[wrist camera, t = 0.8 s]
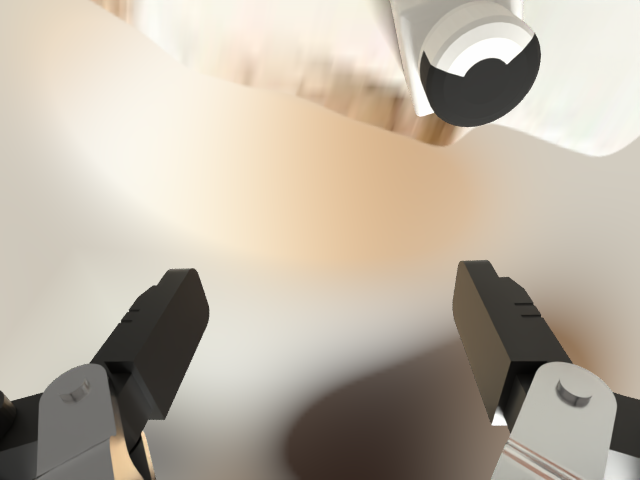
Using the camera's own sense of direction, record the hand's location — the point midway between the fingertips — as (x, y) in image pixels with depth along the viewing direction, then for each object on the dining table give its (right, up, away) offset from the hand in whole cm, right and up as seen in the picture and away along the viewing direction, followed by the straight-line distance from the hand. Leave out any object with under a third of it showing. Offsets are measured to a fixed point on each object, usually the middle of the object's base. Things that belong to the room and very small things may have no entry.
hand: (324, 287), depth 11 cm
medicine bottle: (+9, +19, +17) cm, 27 cm away
